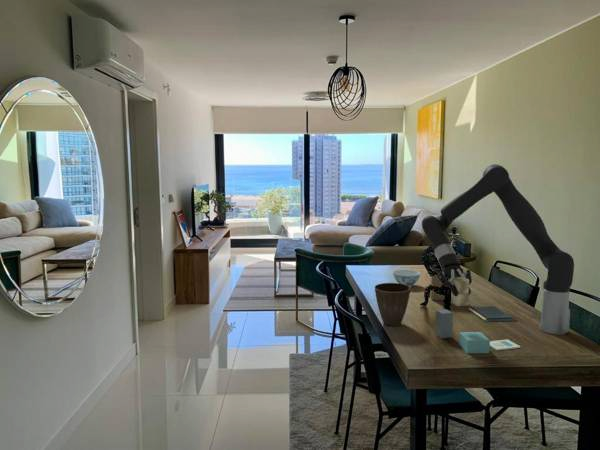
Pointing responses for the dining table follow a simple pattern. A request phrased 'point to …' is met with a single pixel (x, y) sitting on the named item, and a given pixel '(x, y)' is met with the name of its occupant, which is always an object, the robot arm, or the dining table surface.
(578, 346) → the dining table surface
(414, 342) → the dining table surface
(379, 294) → the plant pot
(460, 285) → the maple block
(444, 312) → the charcoal block
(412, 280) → the chinaware
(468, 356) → the dining table surface
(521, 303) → the dining table surface
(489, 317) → the dark blue-grey book
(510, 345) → the card
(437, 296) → the wooden block
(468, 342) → the teal base block
